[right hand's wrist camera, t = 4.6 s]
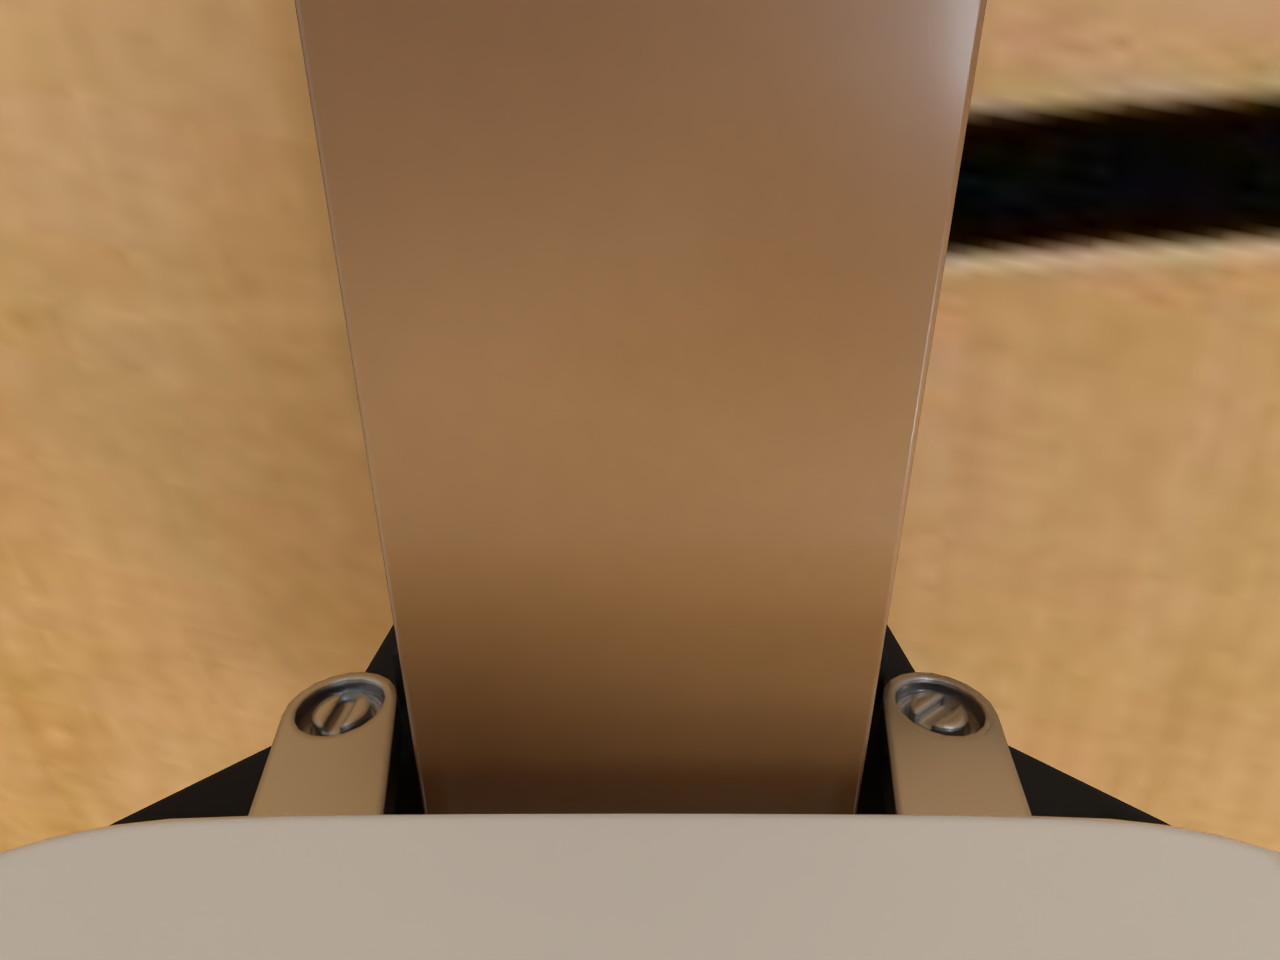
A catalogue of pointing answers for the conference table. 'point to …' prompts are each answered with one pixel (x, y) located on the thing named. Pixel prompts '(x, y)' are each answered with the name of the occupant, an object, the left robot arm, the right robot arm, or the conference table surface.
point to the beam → (640, 375)
